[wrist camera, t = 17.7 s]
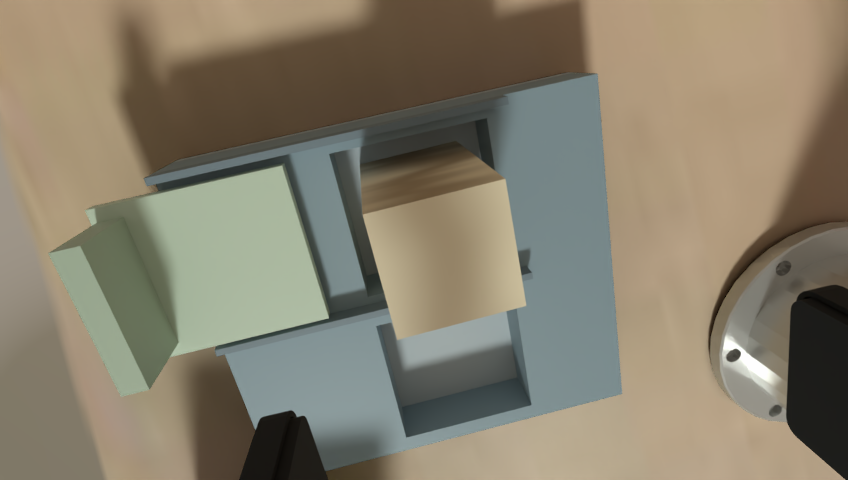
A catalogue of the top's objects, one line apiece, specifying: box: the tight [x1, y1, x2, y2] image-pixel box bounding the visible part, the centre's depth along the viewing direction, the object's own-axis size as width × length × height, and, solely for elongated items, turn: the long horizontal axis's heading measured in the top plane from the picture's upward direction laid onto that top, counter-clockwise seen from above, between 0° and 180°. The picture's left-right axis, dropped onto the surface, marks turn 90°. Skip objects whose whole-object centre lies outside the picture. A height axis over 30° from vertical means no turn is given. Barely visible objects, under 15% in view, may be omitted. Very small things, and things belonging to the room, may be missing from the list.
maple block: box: [360, 141, 526, 340], centre depth 20 cm, size 4×4×8 cm
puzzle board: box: [144, 72, 622, 471], centre depth 24 cm, size 18×16×4 cm
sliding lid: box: [48, 163, 330, 397], centre depth 19 cm, size 7×7×4 cm
